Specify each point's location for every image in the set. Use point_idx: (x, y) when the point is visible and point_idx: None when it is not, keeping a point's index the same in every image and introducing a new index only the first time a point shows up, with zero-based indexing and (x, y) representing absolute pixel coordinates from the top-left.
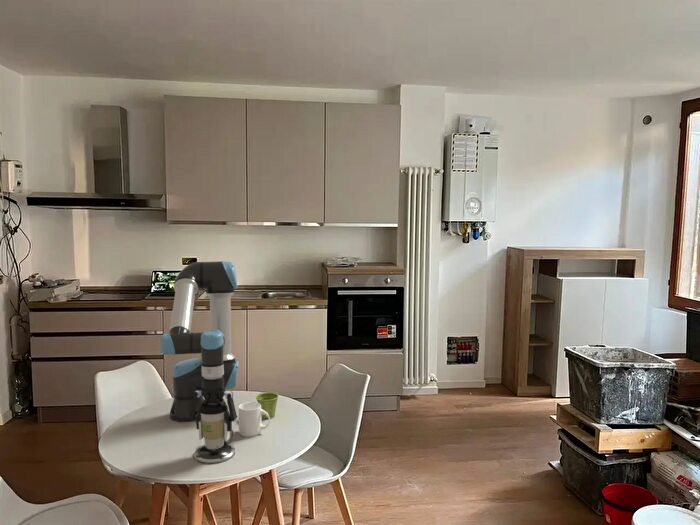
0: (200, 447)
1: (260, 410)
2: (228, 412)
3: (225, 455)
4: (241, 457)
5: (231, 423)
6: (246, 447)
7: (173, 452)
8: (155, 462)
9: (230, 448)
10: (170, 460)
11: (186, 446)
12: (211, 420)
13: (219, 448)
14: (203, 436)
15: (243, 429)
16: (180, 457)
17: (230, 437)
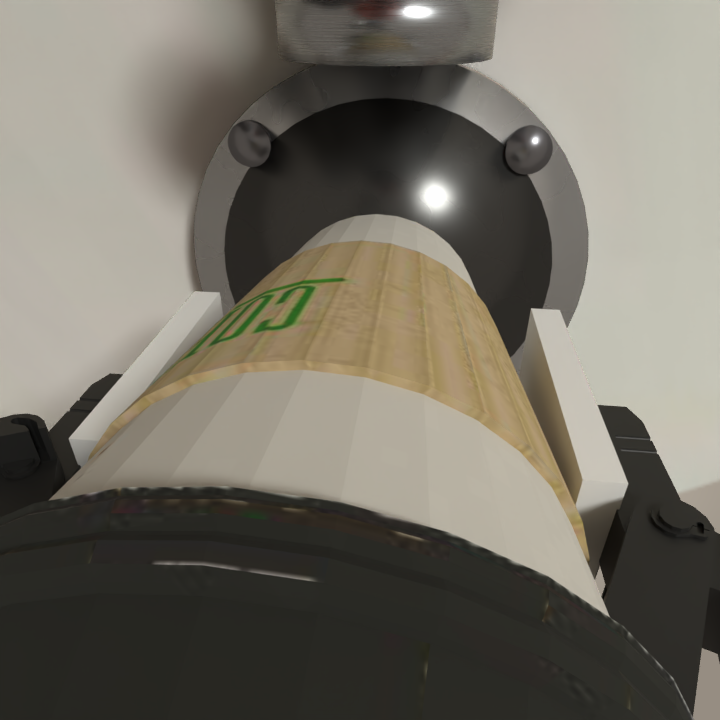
0: (199, 198)
1: None
2: (685, 687)
3: (514, 346)
4: (660, 295)
5: (669, 496)
6: (704, 49)
7: (11, 257)
8: (18, 410)
9: (530, 201)
10: (91, 380)
11: (25, 119)
12: None
13: (408, 214)
14: (218, 319)
15: None
16: (128, 333)
17: (495, 13)
